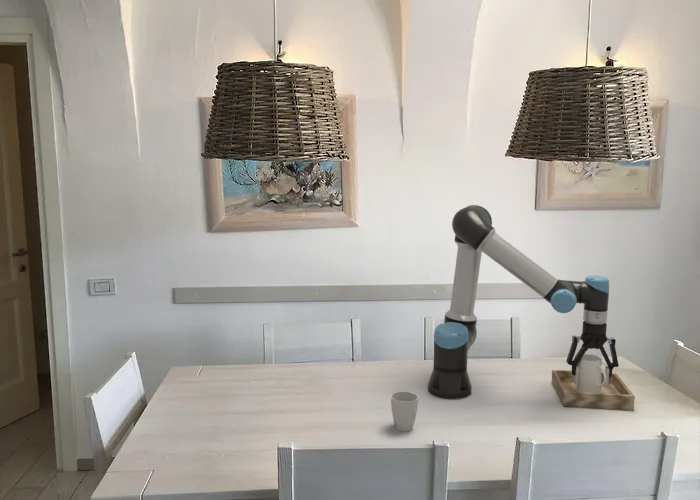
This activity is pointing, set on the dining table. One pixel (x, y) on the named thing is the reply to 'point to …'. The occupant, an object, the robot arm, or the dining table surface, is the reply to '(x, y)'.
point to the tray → (610, 397)
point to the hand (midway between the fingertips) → (590, 384)
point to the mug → (590, 374)
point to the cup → (404, 410)
